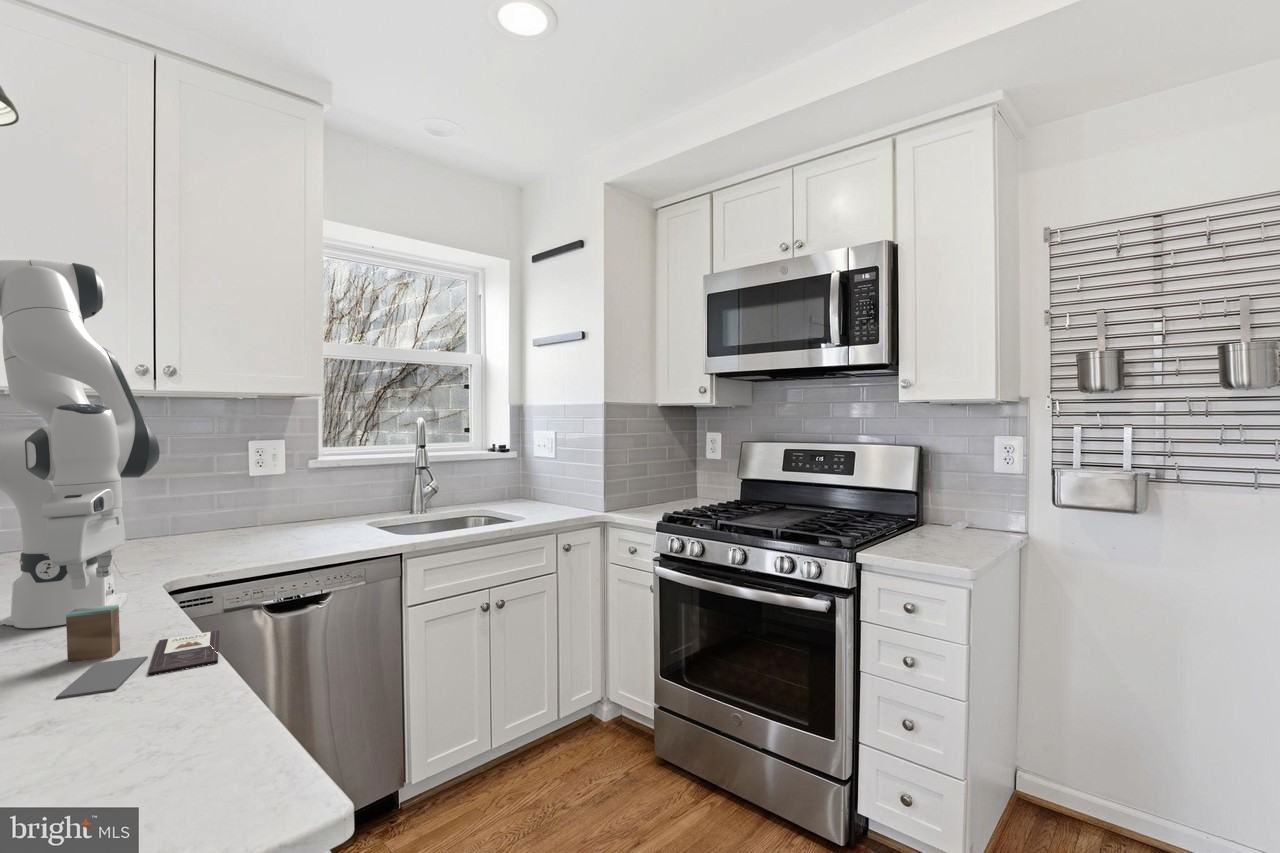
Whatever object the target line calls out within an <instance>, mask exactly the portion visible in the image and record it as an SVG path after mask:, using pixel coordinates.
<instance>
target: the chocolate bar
mask: <svg viewBox="0 0 1280 853" xmlns="http://www.w3.org/2000/svg"><path fill="white" fill-rule="evenodd" d="M201 634H202V635H203V636H202V635H201ZM201 634H200V633H195V634H188V635H182V636H176V637H171V638H170V637H169V638H164V639H163V638H162V639H159V640H158V643H157V645H156V649H155V652H154V655H153V658H152V662H151V664H150V667H149V670H148V676H149V675H151V676H155V674H157V675H160V674H159V673H162V674H165V673H166V672H168V673H172V672H171V671H173V672H177V670H178V671H182V669H184V670H187V669H186V668H189V669H194V668H193V667H195V668H198V667H197V666H200V667H203V666H202V665H205V666H209V665H208V664H211V665H215V664H219V651H220V649H219V648H220V647H219V646H220V644H219V643H220V630H212V631H207V632H201ZM204 637H205V638H206V639H207V641H208V642H209V643H210V645H211V646H212V647H213V648H214V649H212V647H211V646H210V645H209V644H208V643H207V641H206V640H205V639H204ZM215 651H216V652H218V654H217V653H216V652H215Z"/></svg>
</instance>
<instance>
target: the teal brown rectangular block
mask: <svg viewBox="0 0 1280 853" xmlns="http://www.w3.org/2000/svg"><path fill="white" fill-rule="evenodd" d="M65 625H66V628H65V629H66V651H67V652H66V656H67V663H68V664H69V662H71V663H77V662H78V661H79V662H84V661H85V662H86V661H93V660H100V659H107V658H109V659H110V658H113V657H114V656H116V655H117V654H118V653H119V652H120V651H121V638H120V637H121V634H120V612H119V604H118V605H109V606H99V607H89V608H80V609H74V610H73V611H71V612H70V613H68V614H66V624H65Z"/></svg>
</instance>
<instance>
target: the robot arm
mask: <svg viewBox="0 0 1280 853" xmlns="http://www.w3.org/2000/svg"><path fill="white" fill-rule="evenodd" d="M105 286H106V285H105V283H104V281H103V279H102V277H101V276H100V274H99V271H96V269H95V268H93V267H91V266H88V265H85V264H80V263H76V262H72V263H66V262H65V263H63V262H57V261H50V260H49V261H48V260H39V259H29V260H24V259H23V260H22V259H18V260H17V259H11V260H10V259H8V260H7V259H3V260H2V259H0V317H1V322H2V354H3V362H4V367H5V368H4V370H5V375H6V381H7V386H8V393H9V396H10V398H11V399H12V401H13V402H14V403H15V404H16V405H17V406H18V407H21V408H23V409H25V410H27V411H30V412H33V413H35V414H36V415H38V416H39V417H41V418H42V420H44V422H45V424H47V426H15V427H14V426H13V427H9V428H1V429H0V491H2V492H3V493H5V494H6V496H7V497H8V498H9V499H10V500H11V502H12V503H13V505H14V507H15V508H16V510H17V512H18V515H19V519H20V520H19V521H20V526H21V534H22V552H21V553H20V559H19V565H20V572H22V573H21V575H20V576H19V577H18V578H16V580H14V581H13V582H12V589H11V590H12V591H11V604H10V606H11V608H10V616H8V617H5V618H3V619H2V624H6V625H5V626H12V625H13V627H15V628H18V629H38V628H39V629H40V628H48V627H57V626H64V625H66V614H68V613H70V612H71V611H73V610H74V609H80V608H89V607H99V606H109V605H118V604H119V613H120V612H121V611H122V609H123V607H124V605H125V603H126V601H127V599H128V593H127V592H115V579H114V574H113V573H112V571H113V570H112V569H113V568H112V565H113V561H114V558H115V549H117V548H118V547H121V546H124V544H125V540H126V532H125V523H124V522H125V521H124V514H123V511H122V507H123V491H122V490H123V489H122V488H123V487H122V478H127V479H129V478H135V479H136V478H138V479H139V478H141V477H142V476H144V475H146V474H147V473H148V472H150V470H152V469H153V468H154V467H155V466H156V465H157V464H158V462H159V461H160V460H159V459H160V455H161V454H160V452H161V451H160V445H159V440H158V439H157V437H156V434H155V432H154V431H153V430H152V428H151V427H150V425H149V424H148V422H147V420H146V419H145V417H144V415H143V413H142V411H141V408H140V407H139V404H138V402H137V400H136V398H135V395H134V394H133V391H132V389H131V386H130V385H129V383H128V380H127V378H126V376H125V373H124V372H123V370H122V368H121V366H120V364H119V362H118V360H117V358H116V357H115V355H114V354H113V352H112V351H110V350H109V349H107V348H105V347H103V346H101V345H100V344H99V343H98V342H97V341H95V339H93V337H92V336H91V335H90V334H89V332H88V330H87V329H86V328H85V320H86V319H87V320H88V319H89V318H92V317H94V316H95V315H96V314H98V313H99V312H100V311H101V310H102V308H103V305H104V303H105V300H106V297H107V291H106V287H105ZM83 384H85V385H87V386H88V387H90V388H91V389H92V390H94V391H95V392H96V393H97V394H98V396H99V398H100V401H101V402H102V404H103V405H100V404H92V403H91V402H90V401H89V400H88V397H87V394H86V392H85V390H84V385H83Z"/></svg>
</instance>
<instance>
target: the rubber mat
mask: <svg viewBox="0 0 1280 853" xmlns="http://www.w3.org/2000/svg"><path fill="white" fill-rule="evenodd" d="M148 658H149V656H148V655H147V656H139V657H131V658H123V659H115V660H108V661H101V662H100V661H99V662H95V663H94V664H92V665H91V666H90V667H89V668H88V669H87V670H85V671H84V672H83V673H82V674H81V675H80V676H79V677H78V678H76V679H74V681H73V682H72V683H70V684H69V685H68V686H67V687H65V689H63V690H62V691H61V692H60V693H59V694H57V695H56V697H55V699H56V700H57V699H59V700H60V699H65V698H72V697H78V696H85V695H92V694H93V695H94V694H99V693H107V692H114V691H117V690H118V689H119V688H120V687H121V686H123V684H124V683H125V682H126V681H127V680H128V679H129V678H130V677H131V676H132V675H133V674H134V673H135V672H136V671H137V669H138V668H139V667H141V666H142V665H143V664H144V663H145V662H146V660H148Z"/></svg>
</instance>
